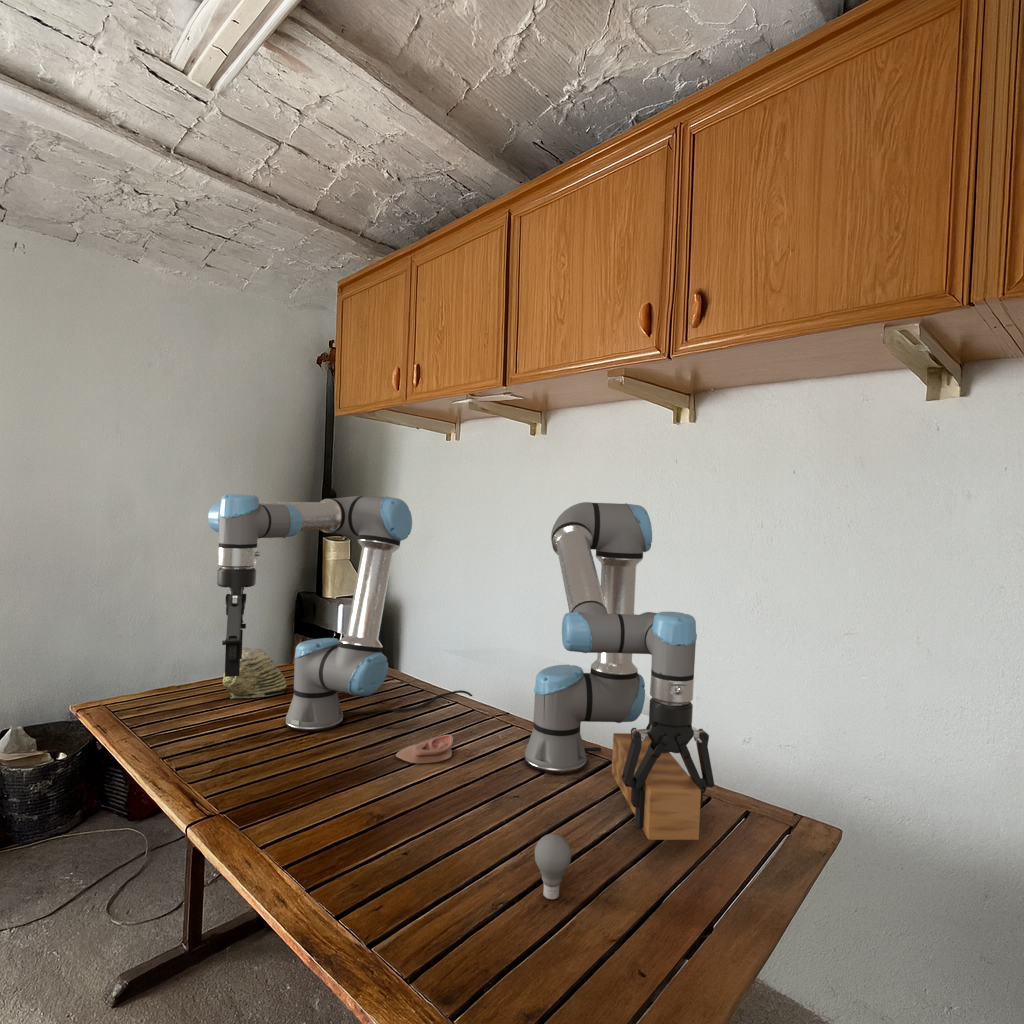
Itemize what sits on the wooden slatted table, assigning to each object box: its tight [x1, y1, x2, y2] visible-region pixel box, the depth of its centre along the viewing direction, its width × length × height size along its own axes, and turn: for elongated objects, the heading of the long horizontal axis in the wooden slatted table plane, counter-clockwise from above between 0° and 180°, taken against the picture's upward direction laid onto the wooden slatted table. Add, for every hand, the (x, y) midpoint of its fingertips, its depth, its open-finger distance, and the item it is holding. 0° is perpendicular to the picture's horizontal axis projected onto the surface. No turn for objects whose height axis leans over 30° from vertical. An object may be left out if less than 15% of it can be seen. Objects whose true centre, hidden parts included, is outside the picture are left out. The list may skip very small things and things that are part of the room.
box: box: [611, 732, 701, 841], centre depth 123 cm, size 27×9×9 cm, turn 4°
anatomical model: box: [395, 734, 454, 764], centre depth 157 cm, size 13×4×12 cm
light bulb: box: [534, 833, 573, 900], centre depth 103 cm, size 6×6×10 cm
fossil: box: [222, 646, 288, 699], centre depth 198 cm, size 9×18×15 cm, turn 132°
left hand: (233, 667), depth 134 cm, fingers open, 13 cm apart
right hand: (665, 824), depth 114 cm, fingers closed on box, 9 cm apart
